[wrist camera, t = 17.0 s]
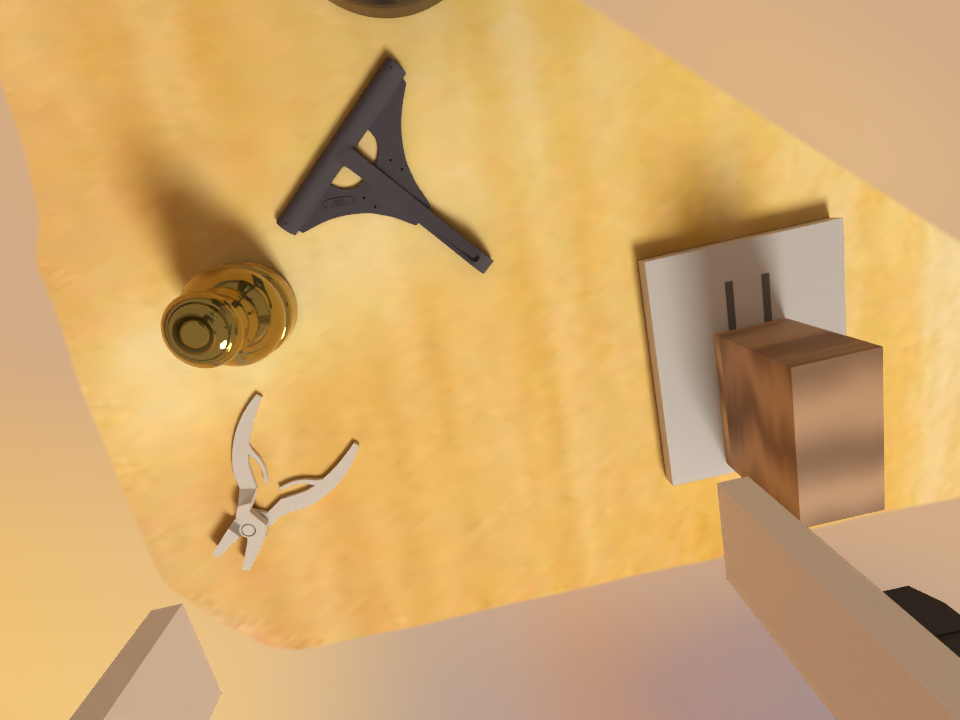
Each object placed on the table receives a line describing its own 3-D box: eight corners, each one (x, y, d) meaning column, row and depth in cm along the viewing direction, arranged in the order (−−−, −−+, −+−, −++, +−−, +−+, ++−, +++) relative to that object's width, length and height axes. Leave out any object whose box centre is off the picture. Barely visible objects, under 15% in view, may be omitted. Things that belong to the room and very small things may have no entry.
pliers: (359, 451, 44) (282, 586, 47) (362, 443, 46) (287, 575, 49) (249, 396, 43) (175, 540, 46) (256, 390, 44) (184, 530, 47)
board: (637, 260, 43) (644, 262, 41) (829, 217, 43) (843, 217, 41) (666, 477, 48) (673, 486, 47) (836, 439, 48) (849, 446, 47)
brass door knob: (315, 332, 43) (277, 365, 33) (231, 366, 43) (170, 409, 34) (272, 246, 41) (219, 254, 31) (185, 281, 41) (105, 301, 32)
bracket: (433, 334, 44) (433, 342, 41) (279, 221, 41) (268, 221, 38) (543, 192, 42) (549, 190, 39) (388, 61, 39) (384, 49, 36)
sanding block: (714, 334, 43) (790, 367, 34) (785, 317, 43) (882, 346, 34) (727, 464, 47) (800, 528, 37) (793, 448, 47) (884, 509, 37)
